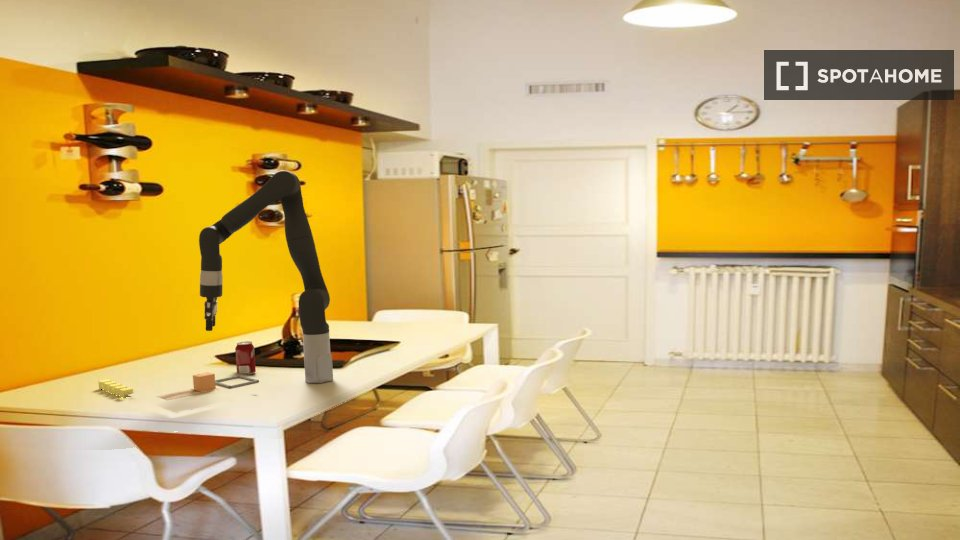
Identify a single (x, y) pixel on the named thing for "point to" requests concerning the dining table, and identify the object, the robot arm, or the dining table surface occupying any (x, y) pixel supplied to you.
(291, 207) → the robot arm
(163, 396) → the wooden board
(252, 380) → the tray
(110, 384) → the yellow flower cubes
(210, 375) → the block
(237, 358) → the soda can
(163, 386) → the dining table surface
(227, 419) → the dining table surface
